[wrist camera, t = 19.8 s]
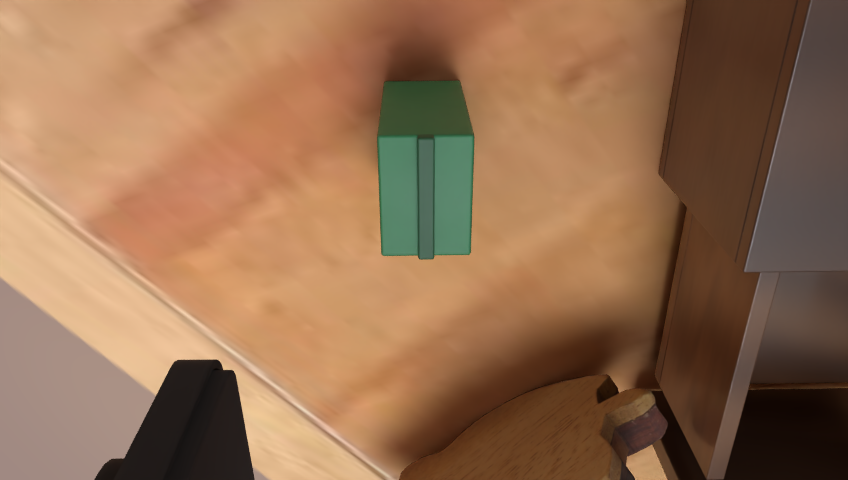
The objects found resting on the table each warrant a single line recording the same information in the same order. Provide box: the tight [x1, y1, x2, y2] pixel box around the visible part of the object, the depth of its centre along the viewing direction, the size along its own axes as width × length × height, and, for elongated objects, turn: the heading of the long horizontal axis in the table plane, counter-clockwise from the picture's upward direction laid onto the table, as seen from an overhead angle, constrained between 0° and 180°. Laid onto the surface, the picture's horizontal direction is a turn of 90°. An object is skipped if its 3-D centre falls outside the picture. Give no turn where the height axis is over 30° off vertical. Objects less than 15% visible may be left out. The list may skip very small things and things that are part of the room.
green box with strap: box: [377, 81, 474, 259], centre depth 28 cm, size 5×4×8 cm
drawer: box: [651, 208, 848, 480], centre depth 33 cm, size 19×13×8 cm
